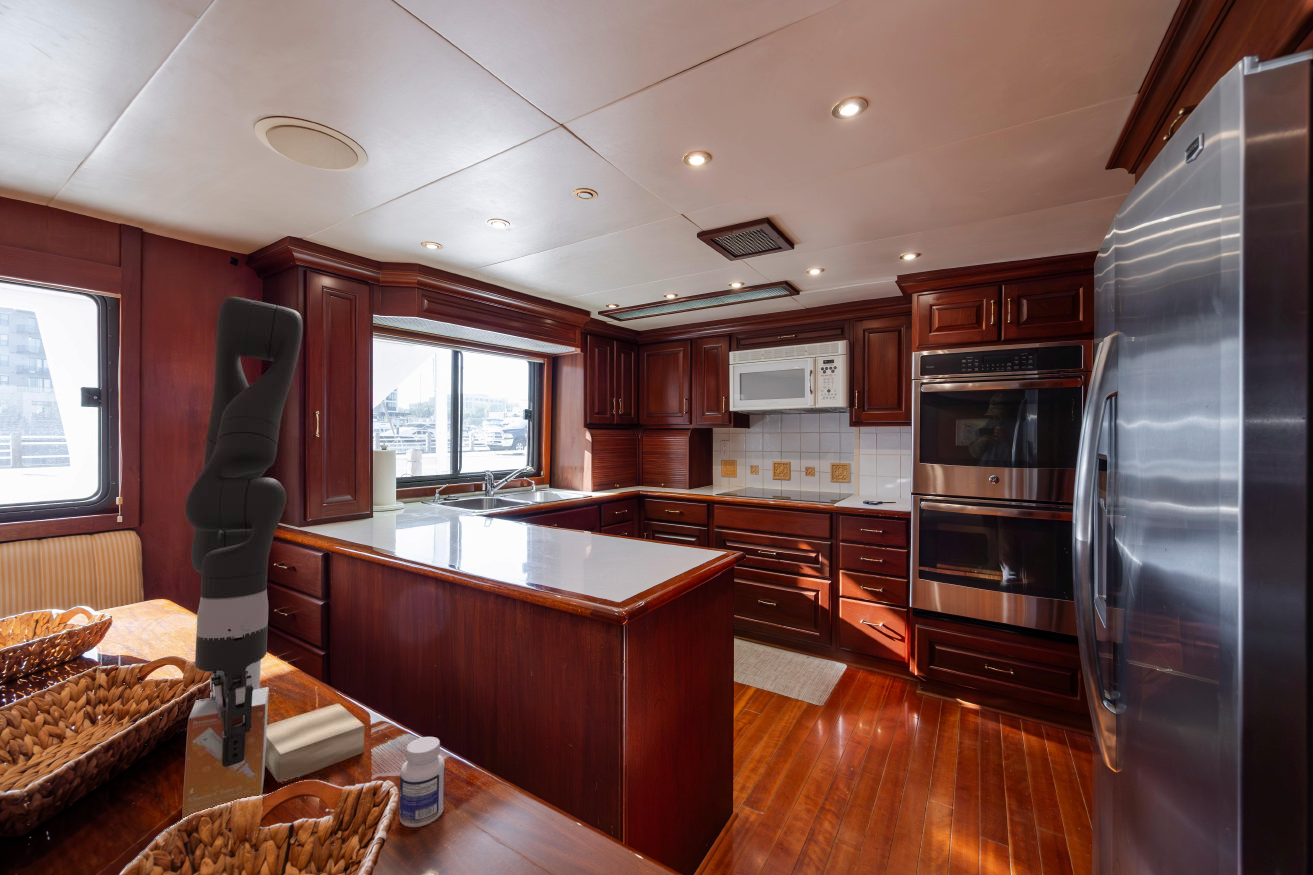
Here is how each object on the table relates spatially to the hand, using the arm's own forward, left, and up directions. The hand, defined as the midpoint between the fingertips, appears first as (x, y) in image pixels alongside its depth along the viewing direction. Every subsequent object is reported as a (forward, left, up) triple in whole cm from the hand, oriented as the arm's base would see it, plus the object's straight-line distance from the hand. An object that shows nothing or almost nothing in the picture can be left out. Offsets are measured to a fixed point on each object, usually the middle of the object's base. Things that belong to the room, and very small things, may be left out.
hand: (227, 751), depth 71 cm
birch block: (-5, +11, -7) cm, 14 cm away
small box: (0, 0, -7) cm, 7 cm away
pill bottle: (+21, +17, -7) cm, 28 cm away
